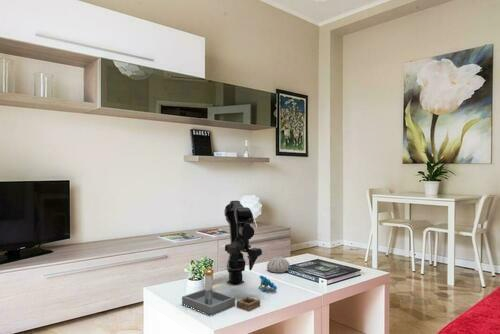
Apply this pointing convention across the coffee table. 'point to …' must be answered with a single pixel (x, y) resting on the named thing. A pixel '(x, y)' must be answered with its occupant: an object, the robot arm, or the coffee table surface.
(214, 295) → the tray
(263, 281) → the blue irregular piece
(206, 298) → the grey tall cylinder
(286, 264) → the sea urchin shell
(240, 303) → the socket block
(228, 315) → the coffee table surface
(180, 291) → the coffee table surface
